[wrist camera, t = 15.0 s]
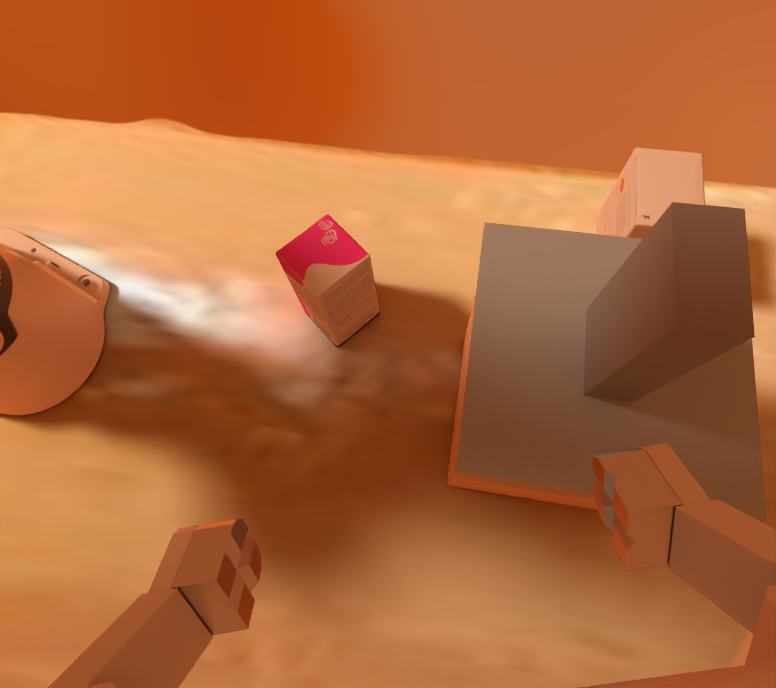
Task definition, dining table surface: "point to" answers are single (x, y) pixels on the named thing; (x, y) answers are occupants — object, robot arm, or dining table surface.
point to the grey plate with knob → (615, 354)
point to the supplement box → (331, 279)
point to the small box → (650, 191)
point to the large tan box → (494, 483)
